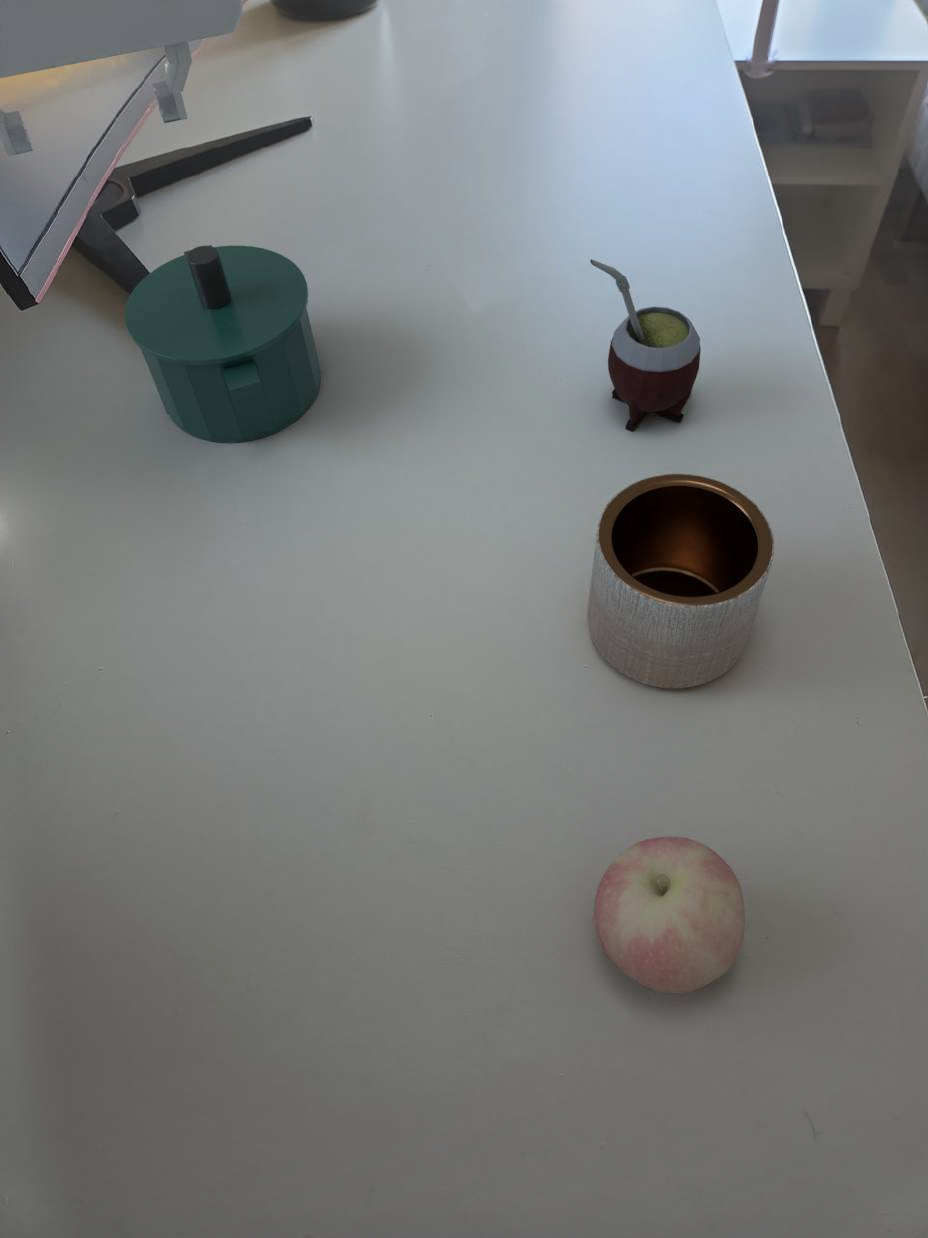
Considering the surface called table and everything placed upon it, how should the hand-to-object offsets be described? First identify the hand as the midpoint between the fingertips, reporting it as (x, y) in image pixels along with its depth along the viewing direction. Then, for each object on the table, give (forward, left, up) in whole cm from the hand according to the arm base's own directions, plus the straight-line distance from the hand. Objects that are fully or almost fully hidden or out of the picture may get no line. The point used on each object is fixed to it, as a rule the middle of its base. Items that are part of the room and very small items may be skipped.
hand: (98, 133), depth 59 cm
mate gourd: (+34, -12, -26) cm, 44 cm away
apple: (+16, -51, -26) cm, 59 cm away
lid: (+4, +4, -17) cm, 18 cm away
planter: (+26, -32, -26) cm, 48 cm away
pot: (+4, +4, -25) cm, 26 cm away
